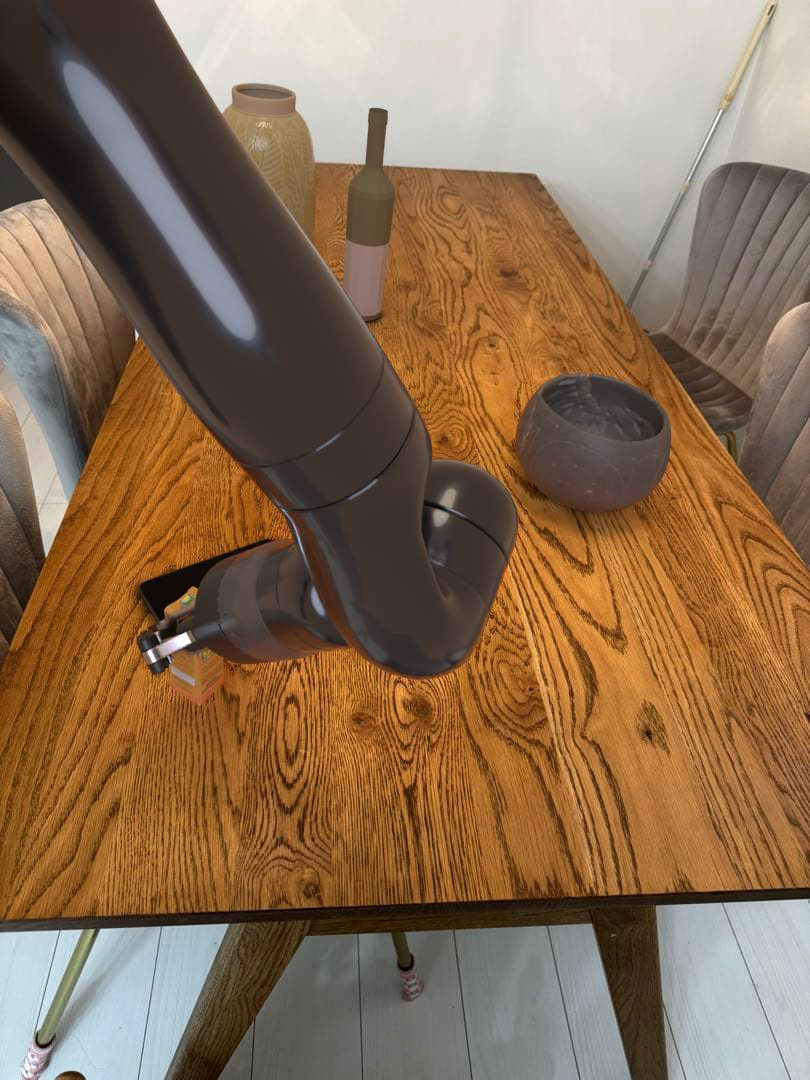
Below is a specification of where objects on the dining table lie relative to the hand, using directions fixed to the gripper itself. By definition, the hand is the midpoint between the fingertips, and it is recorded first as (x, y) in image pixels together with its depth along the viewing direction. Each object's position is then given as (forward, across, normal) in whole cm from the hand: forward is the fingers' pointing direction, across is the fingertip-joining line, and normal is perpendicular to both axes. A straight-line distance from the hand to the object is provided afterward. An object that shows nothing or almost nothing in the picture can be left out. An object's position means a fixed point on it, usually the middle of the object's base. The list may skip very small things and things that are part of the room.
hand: (180, 624), depth 66 cm
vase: (+55, -62, -43) cm, 94 cm away
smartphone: (+12, -10, 0) cm, 16 cm away
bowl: (+3, -53, +9) cm, 54 cm away
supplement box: (+3, 0, +6) cm, 7 cm away
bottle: (+38, -63, -26) cm, 79 cm away
